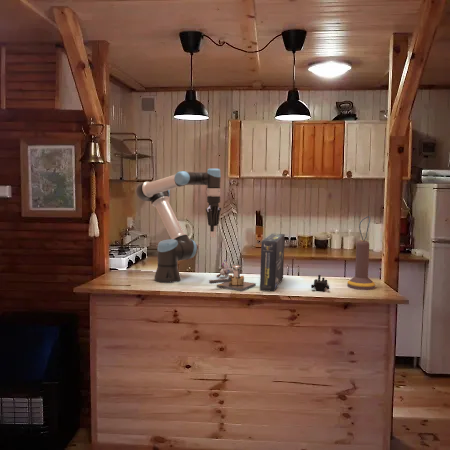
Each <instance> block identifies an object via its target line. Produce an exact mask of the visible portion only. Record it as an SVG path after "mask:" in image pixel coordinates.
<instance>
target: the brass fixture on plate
mask: <svg viewBox="0 0 450 450" xmlns="http://www.w3.org/2000/svg"><path fill="white" fill-rule="evenodd" d="M231 268H232V272H233V273H232V276H233V278H234V277H236V278H240V276H241V275H240V273H241V269H242V265H237V264H235V265H232V267H231ZM256 286H257V283H255V282H248V281H244V284H243V285H231V284H229V282H223V283H217V284H216V289H222V288H223V289H224V290H228V291H229V290H231V291H236V292H244V291H246V290H249V288H250V289H252V288H254V287H256Z"/></svg>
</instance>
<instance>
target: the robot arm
mask: <svg viewBox="0 0 450 450" xmlns="http://www.w3.org/2000/svg"><path fill="white" fill-rule="evenodd" d="M221 175H222V173H221V169H220V168H208V169H207V171H184V170H183V171H182V170H181V171H177V172H176V173H175V174H172V175H170V176H166V177H163V178H160V179H157V180H152V181H144V182H140V183H139V184H137V186H136V188H135V194H136V195H135V196H136V197H137V198H138V200H140V201H142V202H150V203H151V206H152V207H154V208H156V210H157V212H158V214H159V217H160V219H161V221H162V223H163V225H164V227H165V229H166V231H167V234H168V236H169V237H170V239H163V240H160V241H159V242H158V243H157V248H156V250H157V267H156V271H155V273H154V274H155V275H154V281H155V282H159V283H177V282H180V281H181V275H180V271H179V267H178V261H184V260H185V261H187V260H190V259H192V258H194V257H195V256H196V255H197V251H198V250H197V249H198V246H197V243H196V241H194V239H190V237H189V235H188V234H187V233H185V232H184V230H183V229H182V227H181V225H180V221H179V220H178V219H177V217H176V214H175V212H174V210H173V208H172V206H171V204H170V202H169V201H170V195H171V194H170V193H171V190H174V189H177V188H180V187H185V186H206V195H207V196H206V202H207V203H208V206H207V208H205V211H206V218H207V225H208V226H209V227H210V238H216V237H217V227H218V226H219V223H220V216H221V211H222V207H220V206H219V203H221V181H222V179H221V178H222V176H221Z"/></svg>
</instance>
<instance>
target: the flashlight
mask: <svg viewBox="0 0 450 450" xmlns="http://www.w3.org/2000/svg"><path fill="white" fill-rule="evenodd" d="M368 218H369V220H368V224H367V228H366V233H365V237H364V238H363V235H362V231H361V223H362V222H363V221H364V220H365V219H368ZM370 222H371V217H370V216H366V217H364V218H363V219H361V221H360V222H359V227H358V228H359V232H360V236H361V239H362V240H361V239H360V240H358V241H356V244H355V246H356V247H355V269H354V270H355V271H354V277H352V278H350V279H348V281H347V288H349V289H354V290H358V291H359V290H361V291H371V290H375V288H376V283H375V282H374V281H373V280H372V279H370V277H369V264H370V261H369V260H370V243H369V242H370V241H367V240H366V239H367V236H368V231H369V227H370Z"/></svg>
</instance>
